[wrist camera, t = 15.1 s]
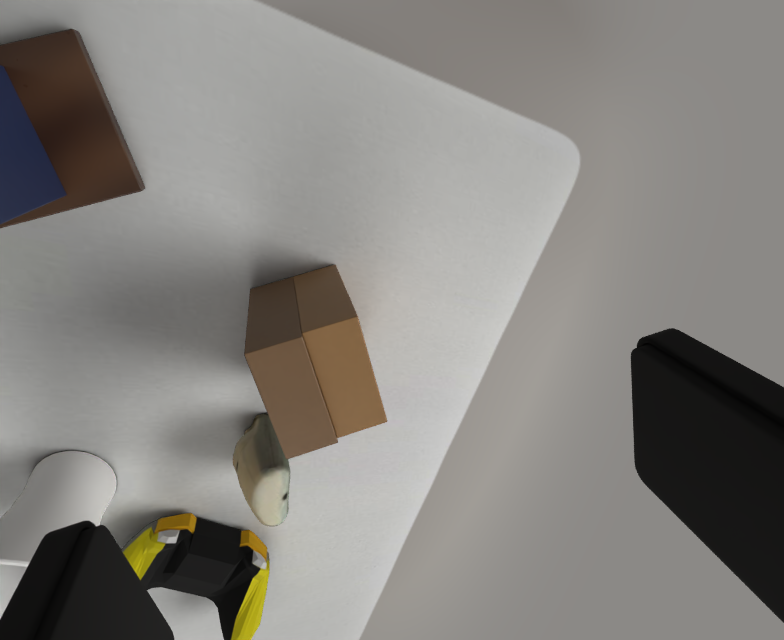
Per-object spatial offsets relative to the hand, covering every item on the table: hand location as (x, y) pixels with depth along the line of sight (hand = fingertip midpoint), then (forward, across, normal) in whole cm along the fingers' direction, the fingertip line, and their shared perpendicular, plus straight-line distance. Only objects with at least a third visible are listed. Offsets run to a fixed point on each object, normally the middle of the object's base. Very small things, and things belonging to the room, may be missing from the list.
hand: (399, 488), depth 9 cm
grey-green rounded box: (+34, +9, +20) cm, 40 cm away
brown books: (+33, +2, +10) cm, 35 cm away
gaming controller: (+34, +19, +30) cm, 49 cm away
